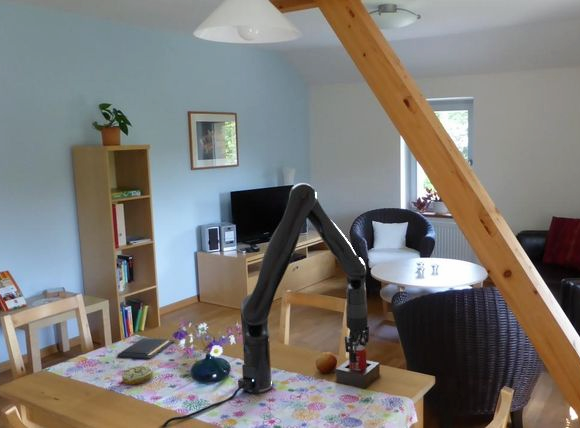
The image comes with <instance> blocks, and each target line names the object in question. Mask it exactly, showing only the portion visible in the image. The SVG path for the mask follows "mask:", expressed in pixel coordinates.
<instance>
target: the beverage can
mask: <svg viewBox="0 0 580 428" xmlns="http://www.w3.org/2000/svg"><path fill="white" fill-rule="evenodd" d="M353 349H354V346H353ZM367 353H368V352H367V349H366V346H365V347H364V346H363V345H358V347H357V349H356V362H355V363H351V362H350V353H348V360H349V369H352V370H357V371H364V370H365V369H366V368H367V361H368V356H367Z"/></svg>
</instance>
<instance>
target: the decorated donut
mask: <svg viewBox="0 0 580 428" xmlns="http://www.w3.org/2000/svg"><path fill="white" fill-rule="evenodd" d="M153 375H154V369H153V368H152V367H151V366H150V365H144V364H142V365H135V366H132V367H129V368H128V369H126V370H125V371H123V373H122V374H121V378H122V382H123V383H124V384H125V385H137V384H142V383H145V382H147V381H149V380H151V378H152V377H153Z"/></svg>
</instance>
